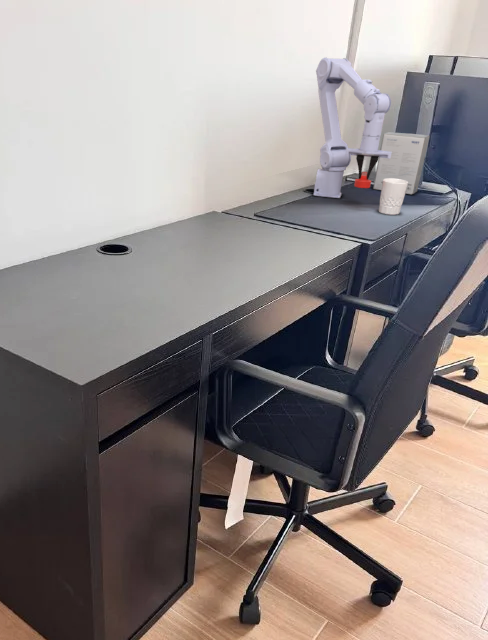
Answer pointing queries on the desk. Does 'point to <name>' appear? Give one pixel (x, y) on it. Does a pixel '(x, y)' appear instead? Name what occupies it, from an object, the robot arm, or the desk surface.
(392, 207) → the white cup
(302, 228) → the desk surface
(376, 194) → the desk surface
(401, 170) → the hard drive box
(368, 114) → the robot arm
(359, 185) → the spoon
